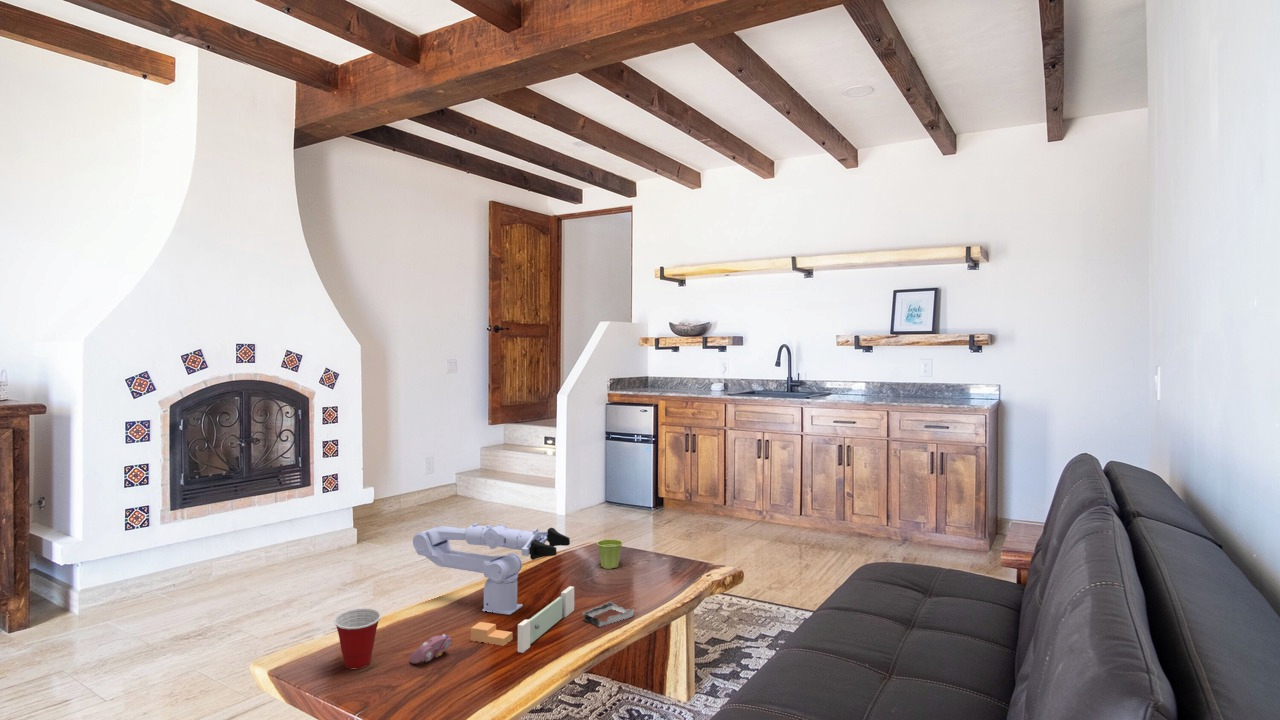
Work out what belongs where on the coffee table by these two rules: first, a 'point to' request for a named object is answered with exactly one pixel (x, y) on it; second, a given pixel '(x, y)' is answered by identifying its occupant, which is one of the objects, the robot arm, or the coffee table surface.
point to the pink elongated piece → (431, 648)
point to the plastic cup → (357, 635)
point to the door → (546, 618)
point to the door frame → (525, 625)
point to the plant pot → (609, 553)
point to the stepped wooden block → (490, 634)
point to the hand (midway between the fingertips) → (562, 546)
